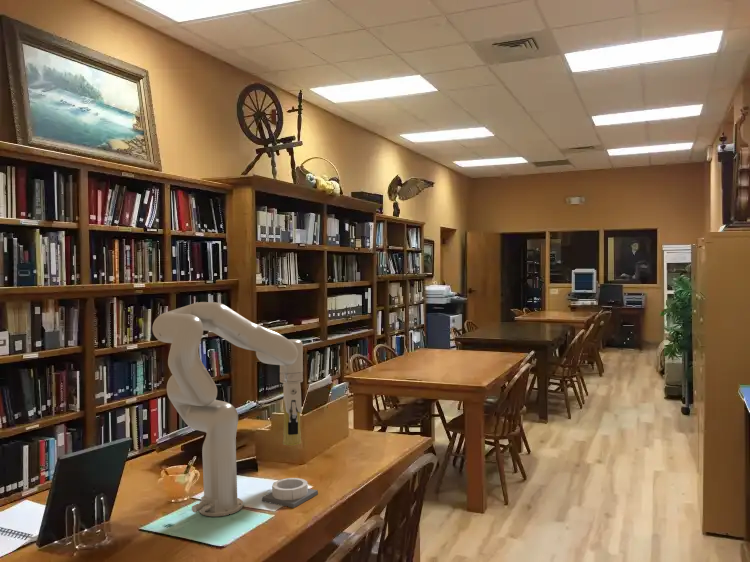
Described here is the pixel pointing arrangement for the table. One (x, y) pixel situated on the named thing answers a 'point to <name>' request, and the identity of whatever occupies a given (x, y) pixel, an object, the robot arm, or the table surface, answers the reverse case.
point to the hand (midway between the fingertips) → (291, 431)
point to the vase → (287, 438)
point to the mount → (290, 492)
